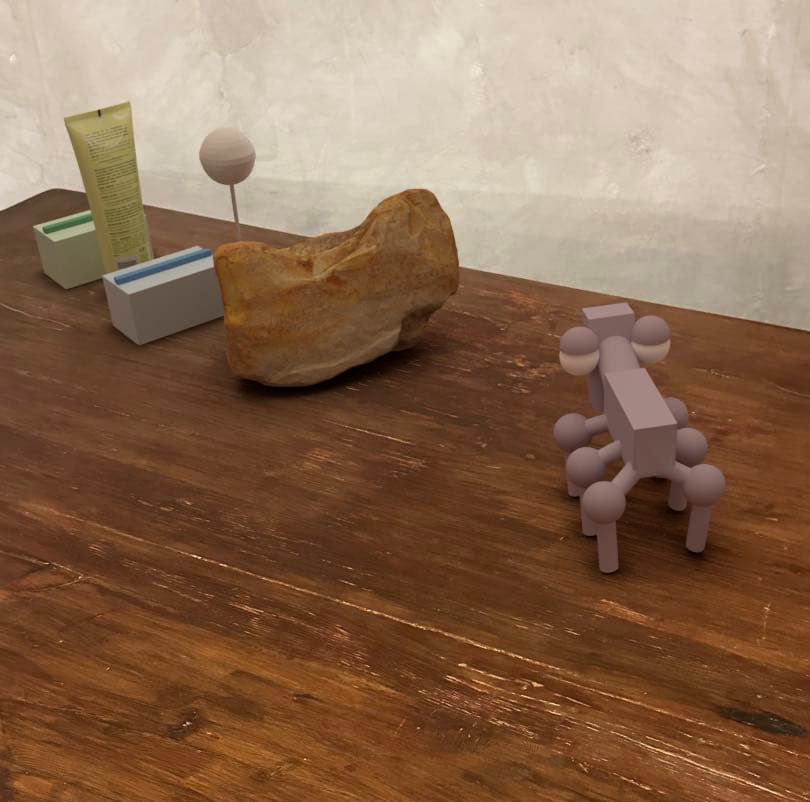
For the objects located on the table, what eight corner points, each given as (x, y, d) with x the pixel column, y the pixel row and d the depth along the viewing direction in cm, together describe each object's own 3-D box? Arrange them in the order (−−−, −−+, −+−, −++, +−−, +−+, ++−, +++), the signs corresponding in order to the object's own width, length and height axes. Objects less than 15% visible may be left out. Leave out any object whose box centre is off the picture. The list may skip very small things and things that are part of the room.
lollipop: (279, 257, 129) (263, 124, 120) (248, 276, 125) (229, 140, 116) (236, 248, 132) (217, 117, 123) (205, 267, 128) (183, 133, 119)
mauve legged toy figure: (526, 434, 96) (530, 286, 88) (648, 422, 97) (663, 274, 89) (581, 580, 80) (592, 416, 72) (726, 565, 81) (753, 401, 73)
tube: (120, 280, 126) (81, 100, 114) (164, 280, 125) (130, 99, 114) (104, 302, 121) (63, 117, 110) (150, 302, 121) (113, 116, 109)
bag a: (139, 346, 113) (126, 288, 109) (112, 325, 117) (100, 269, 113) (233, 312, 118) (225, 256, 114) (205, 294, 122) (196, 239, 118)
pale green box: (65, 289, 124) (52, 236, 121) (44, 273, 128) (31, 220, 125) (155, 261, 130) (145, 209, 126) (131, 246, 133) (121, 195, 130)
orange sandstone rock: (414, 297, 121) (399, 155, 112) (479, 351, 107) (467, 194, 99) (204, 350, 115) (171, 204, 107) (245, 413, 101) (212, 253, 93)
